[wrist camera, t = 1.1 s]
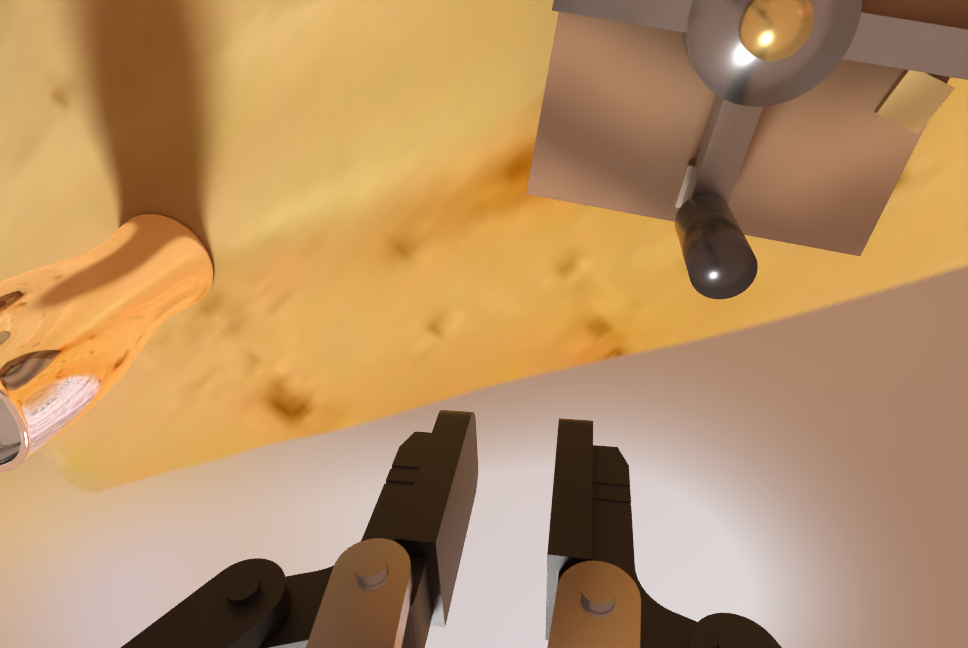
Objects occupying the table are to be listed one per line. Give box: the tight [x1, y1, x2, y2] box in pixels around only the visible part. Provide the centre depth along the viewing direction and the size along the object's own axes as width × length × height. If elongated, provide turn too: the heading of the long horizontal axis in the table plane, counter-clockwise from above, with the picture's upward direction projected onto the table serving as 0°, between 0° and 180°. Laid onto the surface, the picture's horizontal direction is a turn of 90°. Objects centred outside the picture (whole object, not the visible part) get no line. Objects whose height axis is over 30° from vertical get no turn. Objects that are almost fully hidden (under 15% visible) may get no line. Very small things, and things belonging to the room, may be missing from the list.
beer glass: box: [0, 214, 213, 472], centre depth 32 cm, size 7×7×15 cm
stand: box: [526, 0, 968, 256], centre depth 26 cm, size 18×16×2 cm
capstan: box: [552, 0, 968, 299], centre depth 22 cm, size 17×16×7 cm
